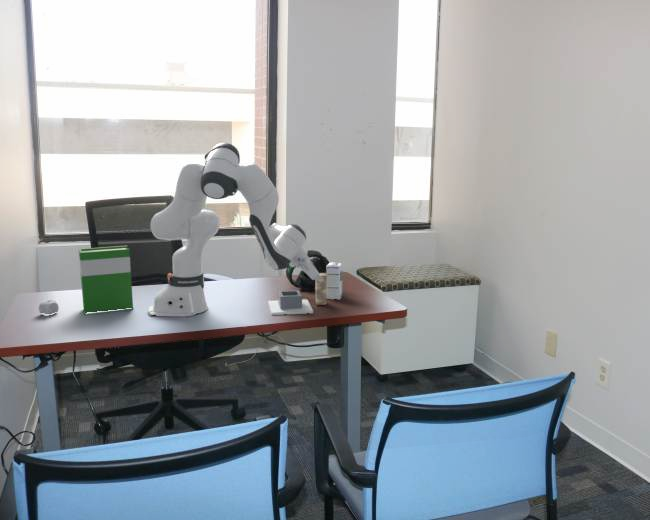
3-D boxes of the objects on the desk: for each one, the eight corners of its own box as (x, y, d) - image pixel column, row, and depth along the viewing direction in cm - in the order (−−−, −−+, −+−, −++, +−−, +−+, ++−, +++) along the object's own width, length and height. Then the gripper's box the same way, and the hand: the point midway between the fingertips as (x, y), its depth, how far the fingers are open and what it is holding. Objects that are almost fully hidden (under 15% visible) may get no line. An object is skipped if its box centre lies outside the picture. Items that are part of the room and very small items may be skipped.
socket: (271, 315, 237) (271, 300, 235) (268, 303, 252) (267, 288, 251) (313, 313, 239) (313, 298, 238) (307, 301, 255) (307, 287, 253)
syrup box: (340, 300, 257) (340, 265, 254) (325, 299, 258) (326, 265, 255) (342, 296, 263) (342, 262, 260) (328, 295, 264) (328, 262, 261)
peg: (316, 304, 249) (316, 275, 247) (315, 302, 253) (315, 273, 251) (326, 304, 250) (326, 275, 248) (324, 301, 254) (325, 273, 251)
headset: (327, 303, 281) (283, 284, 261) (314, 285, 291) (271, 265, 270) (352, 274, 277) (310, 253, 257) (338, 256, 287) (297, 234, 266)
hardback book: (130, 304, 249) (126, 245, 244) (133, 309, 243) (129, 249, 238) (83, 309, 242) (78, 249, 237) (84, 314, 236) (79, 252, 230)
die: (59, 313, 237) (58, 300, 236) (48, 317, 233) (47, 304, 232) (50, 311, 239) (49, 299, 238) (39, 315, 235) (37, 302, 234)
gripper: (306, 256, 236) (331, 280, 240) (299, 245, 255) (322, 268, 259) (294, 268, 236) (319, 292, 240) (288, 256, 256) (311, 278, 259)
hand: (321, 279), depth 250 cm, fingers closed on peg, 4 cm apart
